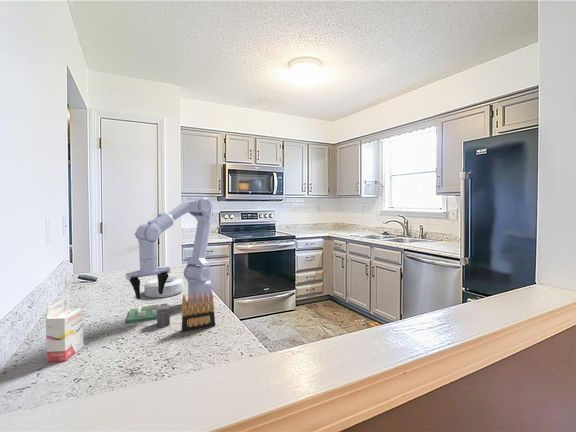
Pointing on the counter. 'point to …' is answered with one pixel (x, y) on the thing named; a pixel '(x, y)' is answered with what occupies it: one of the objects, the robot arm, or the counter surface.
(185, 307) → the ammunition clip
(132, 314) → the board
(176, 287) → the cable
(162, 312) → the plug
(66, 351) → the ink cartridge box
